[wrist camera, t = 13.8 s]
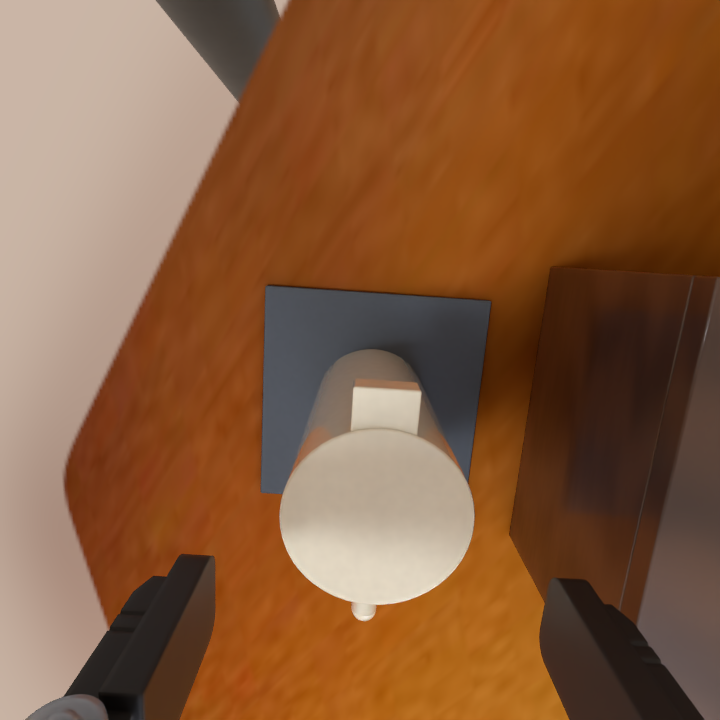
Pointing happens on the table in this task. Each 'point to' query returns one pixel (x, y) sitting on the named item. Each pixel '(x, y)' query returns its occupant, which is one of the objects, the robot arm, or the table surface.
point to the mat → (359, 332)
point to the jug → (375, 488)
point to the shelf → (630, 459)
